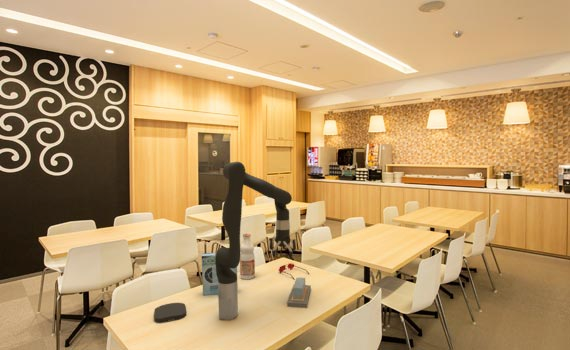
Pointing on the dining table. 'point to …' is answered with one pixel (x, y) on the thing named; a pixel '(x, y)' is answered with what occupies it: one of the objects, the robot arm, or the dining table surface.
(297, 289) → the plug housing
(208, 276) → the blue flat upright box
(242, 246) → the fruit juice
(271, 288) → the dining table surface
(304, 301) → the board
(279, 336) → the dining table surface
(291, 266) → the glasses
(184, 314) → the media streaming box
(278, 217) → the robot arm
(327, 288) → the dining table surface
